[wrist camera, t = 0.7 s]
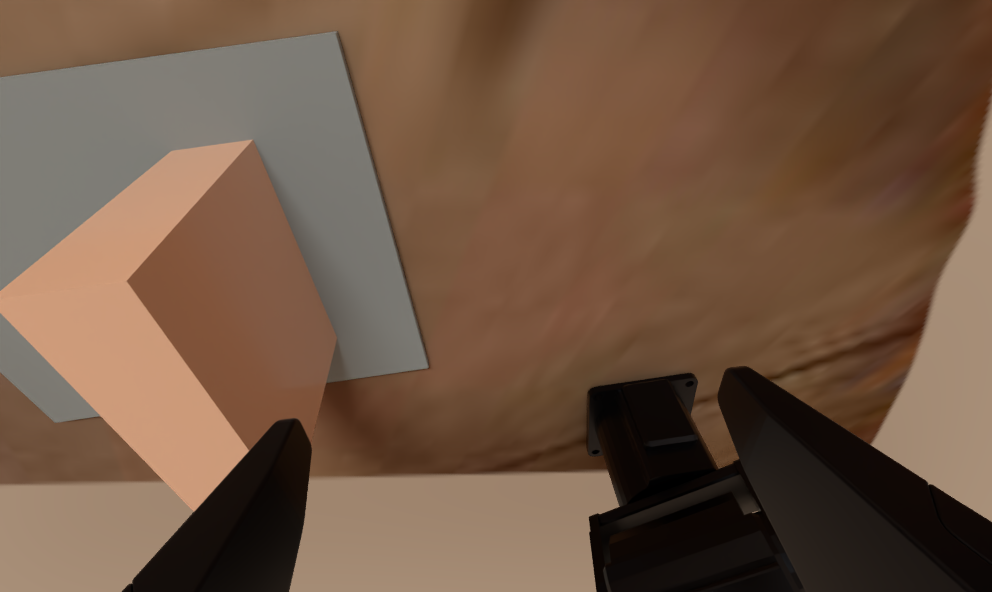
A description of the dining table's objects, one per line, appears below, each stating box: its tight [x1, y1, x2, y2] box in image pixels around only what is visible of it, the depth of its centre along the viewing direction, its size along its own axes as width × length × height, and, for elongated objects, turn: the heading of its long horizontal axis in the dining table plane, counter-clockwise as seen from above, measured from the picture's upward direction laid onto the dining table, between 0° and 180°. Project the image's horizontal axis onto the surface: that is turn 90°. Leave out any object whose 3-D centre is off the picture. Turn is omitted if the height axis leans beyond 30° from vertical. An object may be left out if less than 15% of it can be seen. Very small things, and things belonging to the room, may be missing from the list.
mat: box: [0, 31, 429, 423], centre depth 21 cm, size 16×20×1 cm
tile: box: [0, 140, 337, 511], centre depth 17 cm, size 10×3×9 cm, turn 6°
